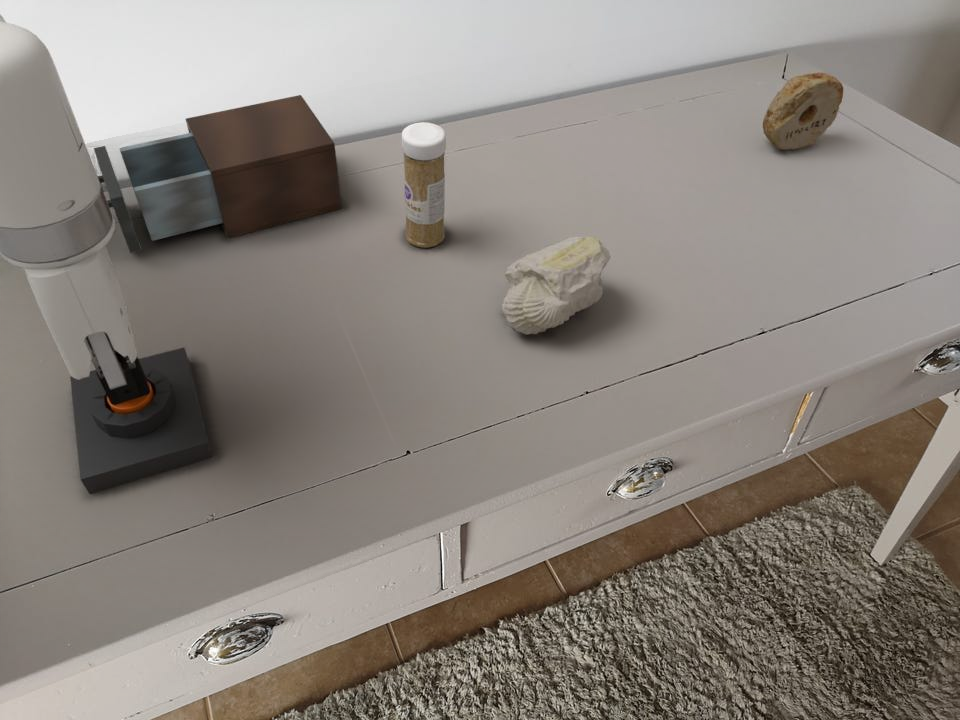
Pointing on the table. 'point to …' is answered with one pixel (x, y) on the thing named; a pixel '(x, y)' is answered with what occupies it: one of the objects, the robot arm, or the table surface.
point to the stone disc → (802, 110)
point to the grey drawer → (163, 188)
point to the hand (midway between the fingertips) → (130, 393)
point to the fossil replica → (554, 284)
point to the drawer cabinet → (268, 163)
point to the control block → (139, 426)
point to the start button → (133, 404)
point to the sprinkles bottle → (424, 183)
